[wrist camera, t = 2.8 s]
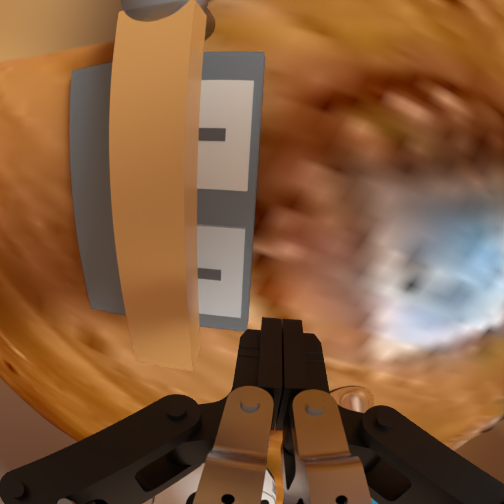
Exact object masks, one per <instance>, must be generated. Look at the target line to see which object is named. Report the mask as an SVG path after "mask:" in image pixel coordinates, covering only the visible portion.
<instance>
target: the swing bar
mask: <svg viewBox="0 0 504 504" xmlns="http://www.w3.org/2000/svg"><path fill="white" fill-rule="evenodd" d="M121 3H122V8H123V10H124V11H120V12H119V16H118V22H117V29H116V37H115V44H114V53H113V63H112V75H111V90H110V114H109V163H110V187H111V203H112V216H113V227H114V237H115V246H116V254H117V262H118V269H119V276H120V282H121V289H122V295H123V301H124V306H125V312H126V317H127V322H128V327H129V332H130V336H131V341H132V345H133V350H134V354H135V358H136V361H138V362H143V363H148V364H153V365H158V366H164V367H169V368H175V369H181V370H187V371H193V369H194V366H195V363H196V360H197V357H198V354H199V351H200V347H201V345H200V325H199V301H198V265H197V173H198V138H199V114H200V95H201V79H202V65H203V52H204V40H205V29H206V19H207V16H206V14H205V13H204V12H205V10H206V8H207V6H208V0H121Z"/></svg>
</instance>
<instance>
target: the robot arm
mask: <svg viewBox="0 0 504 504" xmlns="http://www.w3.org/2000/svg"><path fill="white" fill-rule="evenodd" d="M322 353H323V352H322V346H321V342H320V341H319V339H318V338H317V337H316V336H315V334H311V333H303V327H302V321H301V320H293V319H282V323H281V319H278V318H265V317H262V324H261V330H252V329H247V330H246V331H245V332H244V334H243V335H242V336H241V337H240V343H239V349H238V357H237V362H236V369H235V375H234V381H233V387H232V390H231V392H230V393H229V394H228V395H227V396H226V397H225V398H224V399H222V400H220V401H217V402H213V403H207V404H199V405H198V404H197V403H196V401H195V400H193V399H192V398H190V397H188V396H185V395H179V394H173V395H168V396H165V397H163V398H161V399H159V400H158V401H156V402H154V403H152V404H150V405H149V406H147V407H145V408H143V409H141V410H140V411H138V412H136V413H134V414H132V415H130V416H128V417H127V418H125V419H123V420H121V421H119V422H117V423H115V424H113V425H111V426H109V427H107V428H105V429H103V430H101V431H99V432H97V433H95V434H93V435H91V436H89V437H87V438H85V439H83V440H81V441H79V442H77V443H75V444H72V445H70V446H68V447H66V448H64V449H62V450H59V451H57V452H55V453H53V454H51V455H49V456H46V457H44V458H41V459H39V460H37V461H34V462H32V463H29V464H27V465H24V466H22V467H20V468H17V469H14V470H12V471H10V472H7V473H6V474H5V475H4V476H3V477H2V479H1V481H0V497H1V499H2V501H3V502H4V503H5V504H142V503H144V502H146V501H147V500H149V499H151V498H152V497H154V496H156V495H157V494H159V493H161V492H162V491H164V490H165V489H167V488H169V487H170V486H172V485H173V484H175V483H176V482H178V481H179V480H181V479H182V478H184V477H185V476H187V475H188V474H190V473H191V472H193V471H194V470H196V469H197V468H198V467H200V466H201V465H202V464H203V463H205V464H204V468H203V471H202V475H201V478H200V481H199V485H198V488H197V491H196V495H195V498H194V501H193V504H261V498H262V492H263V486H264V479H265V472H266V465H267V452H268V445H269V437H270V433H271V430H274V426H275V421H276V430H283V441H282V444H281V461H282V473H283V486H284V499H283V504H372V501H371V498H372V499H373V500H374V501H376V502H377V503H378V504H504V484H503V483H501V482H500V481H498V480H497V479H495V478H494V477H492V476H490V475H489V474H487V473H486V472H484V471H483V470H481V469H480V468H478V467H477V466H475V465H474V464H472V463H471V462H469V461H468V460H466V459H465V458H463V457H462V456H460V455H459V454H457V453H456V452H454V451H453V450H451V449H450V448H449V447H447V446H446V445H444V444H443V443H441V442H440V441H438V440H437V439H436V438H434V437H433V436H431V435H430V434H428V433H427V432H426V431H424V430H423V429H421V428H420V427H419V426H417V425H416V424H414V423H413V422H412V421H410V420H409V419H407V418H406V417H405V416H403V415H402V414H401V413H399V412H398V411H396V410H395V409H393V408H391V407H388V406H383V405H379V406H374V407H371V408H369V409H368V410H367V411H366V412H365V413H361V412H357V411H353V410H349V409H346V408H343V407H341V406H340V405H338V404H337V402H336V400H335V399H334V398H333V397H332V396H331V395H330V392H329V387H328V381H327V375H326V369H325V363H324V357H323V354H322Z"/></svg>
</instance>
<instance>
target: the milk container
mask: <svg viewBox="0 0 504 504" xmlns="http://www.w3.org/2000/svg"><path fill="white" fill-rule="evenodd" d="M204 464H205V463H203V464H202V465H201V466H200V467H198V468H197V469H196V470H194V471H193V472H191V473H190V474H188V475H187V476H185V477H184V478H182V479H181V480H179V481H178V482H176V483H175V484H173V485H172V486H170V487H169V488H167V489H165V490H164V491H162V492H161V493H159V494H157V495H156V496H154V497H152V504H193V501H194V498H195V495H196V491H197V488H198V485H199V481H200V478H201V475H202V471H203V468H204ZM275 501H276V486H275V481H274V477H273V476H272V474H271V472H270V471H269V469H267V468H266V472H265V479H264V486H263V492H262V498H261V504H275Z"/></svg>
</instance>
